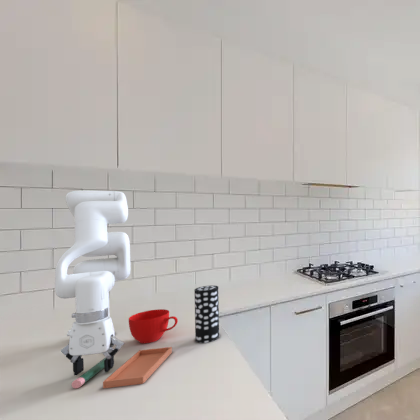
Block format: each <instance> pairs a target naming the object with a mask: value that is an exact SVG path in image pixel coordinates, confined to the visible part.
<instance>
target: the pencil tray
mask: <svg viewBox="0 0 420 420" xmlns="http://www.w3.org/2000/svg"><path fill="white" fill-rule="evenodd" d="M172 353H173V347H172V346H168V347H158V348H148V349H147V348H146V349H139V350H138V351H137V352H136V353H134V354H133V355H132V356H131V357H130V358H129V359H127V360H126V361H125V362H124V363H123V364H122V365H120V367H118V368H117V369H116V370H115V371H114V372H112V373H111V374H110V375H108V377H107V378H105V379H104V380H103V381H102V389H112V388H118V387H128V386H136V385H142V384H144V383H146V381H147V380H148V379H149V378H150V377H151V376H152V375H154V373H155V372H156V371H157V369H159V367H160V366H161V365H162V364H163V363H164V362H165V361H166V360H167V358H168V357H169V356H170V355H171V354H172Z"/></svg>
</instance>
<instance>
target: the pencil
mask: <svg viewBox="0 0 420 420" xmlns="http://www.w3.org/2000/svg"><path fill="white" fill-rule="evenodd" d="M105 359H106V357H105V356H104V358H103V359H101V360H100V361H99V362H97V363H96V364H95V365H93V366H92V367H90V368H89V369H88V370H86V371H85V372H84V373H83V374H81V375H80V376H79V377H77V378H76V379H74V380H73V381H72V382H71V387H72V388H73V389H79V388H80V387H82V386H83V385H84V384H86V383H87V382H89V380H90V379H92V378H93V377H94V376H96V375H97V374H99V372H101V371H102V370H104V360H105Z"/></svg>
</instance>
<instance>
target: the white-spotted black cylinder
mask: <svg viewBox="0 0 420 420" xmlns="http://www.w3.org/2000/svg"><path fill="white" fill-rule="evenodd" d="M219 295H220V294H219V286H218V285H203V286H199V287H196V288H194V331H195V332H194V333H195V334H194V335H195V336H194V337H195V338H194V339H195V342H196V343H198V344H206V343H211V342H213V341H216V340H218V339H219V338H220V307H219V306H220V305H219V304H220V302H219V300H220V297H219Z"/></svg>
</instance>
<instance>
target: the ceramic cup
mask: <svg viewBox="0 0 420 420" xmlns="http://www.w3.org/2000/svg"><path fill="white" fill-rule="evenodd" d="M170 320H174V323H173V325H172V326H170V327H169V321H170ZM178 322H179V320H178V317H176V316H172V315H171V316H170V311H169V310H168V309H165V308H163V309H162V308H161V309H160V308H158V309H149V310H145V311H141V312H137V313H135V314H133V315H132V314H131V316H129V317H128V328H129V332H130V334H131V336H132V338H134V340H136V341H137V342H139V343H140V344H150V343H151V344H152V343H155V342H157V341H158V340H160V339H161V337H163V335H164V334H165V333H166V332H168V331H170V330H172V329H174V328H175V327H176V326H177V324H178Z"/></svg>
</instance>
